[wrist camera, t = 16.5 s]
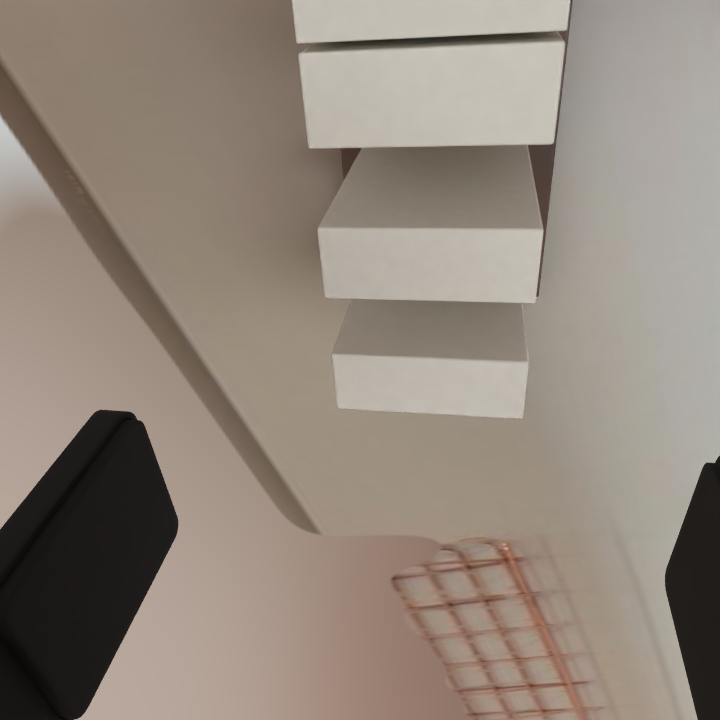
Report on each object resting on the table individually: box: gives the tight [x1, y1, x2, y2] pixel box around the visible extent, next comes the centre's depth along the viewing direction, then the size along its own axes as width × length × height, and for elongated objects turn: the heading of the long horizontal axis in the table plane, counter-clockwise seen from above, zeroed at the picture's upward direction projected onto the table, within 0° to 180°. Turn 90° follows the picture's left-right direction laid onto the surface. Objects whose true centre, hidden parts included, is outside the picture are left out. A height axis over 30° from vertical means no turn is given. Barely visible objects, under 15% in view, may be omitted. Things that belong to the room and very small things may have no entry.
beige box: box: [317, 145, 544, 303], centre depth 22 cm, size 2×6×10 cm, turn 94°
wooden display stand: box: [292, 0, 572, 419], centre depth 22 cm, size 16×9×11 cm, turn 4°
